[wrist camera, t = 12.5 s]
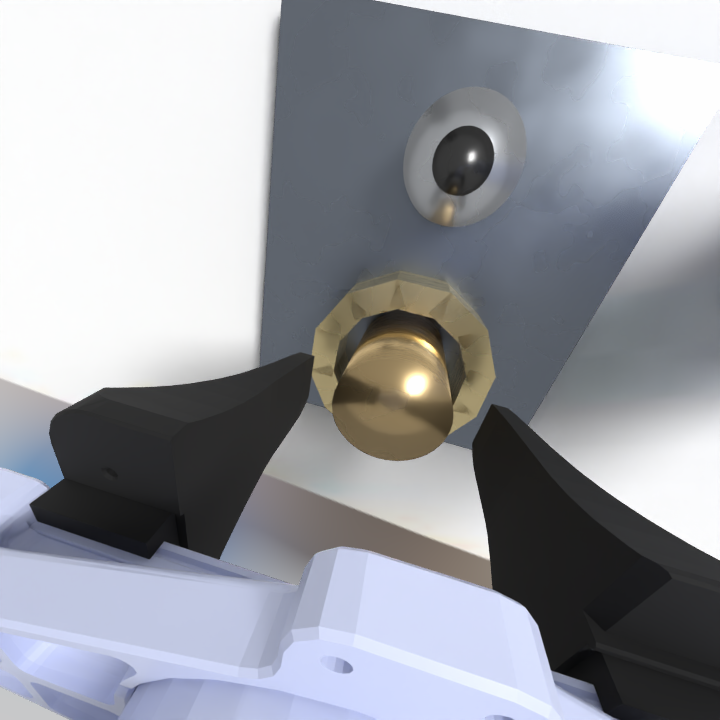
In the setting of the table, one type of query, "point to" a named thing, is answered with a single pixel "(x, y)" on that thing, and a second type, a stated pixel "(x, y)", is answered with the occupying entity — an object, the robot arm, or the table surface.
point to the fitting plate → (527, 237)
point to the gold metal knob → (395, 389)
